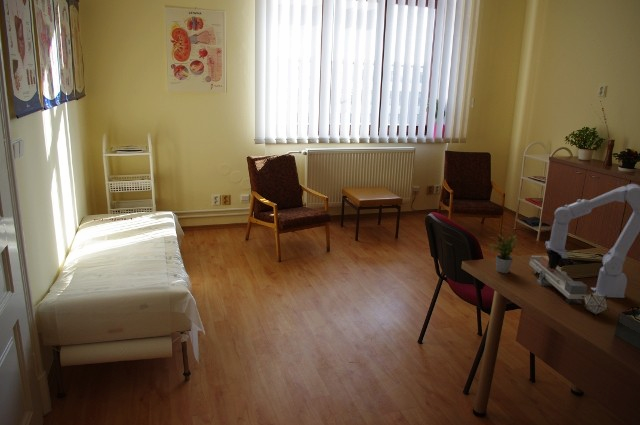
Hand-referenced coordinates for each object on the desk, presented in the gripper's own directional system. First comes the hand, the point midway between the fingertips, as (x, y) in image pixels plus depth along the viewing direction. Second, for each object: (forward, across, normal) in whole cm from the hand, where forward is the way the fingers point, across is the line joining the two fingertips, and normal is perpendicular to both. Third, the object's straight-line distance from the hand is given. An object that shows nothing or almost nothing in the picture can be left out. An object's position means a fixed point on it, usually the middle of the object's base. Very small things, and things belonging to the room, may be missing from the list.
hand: (552, 268), depth 202 cm
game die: (+7, +26, +3) cm, 27 cm away
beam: (+4, +4, 0) cm, 5 cm away
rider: (+2, -4, 0) cm, 5 cm away
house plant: (+7, -13, -15) cm, 21 cm away
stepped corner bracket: (+6, +4, 0) cm, 8 cm away
